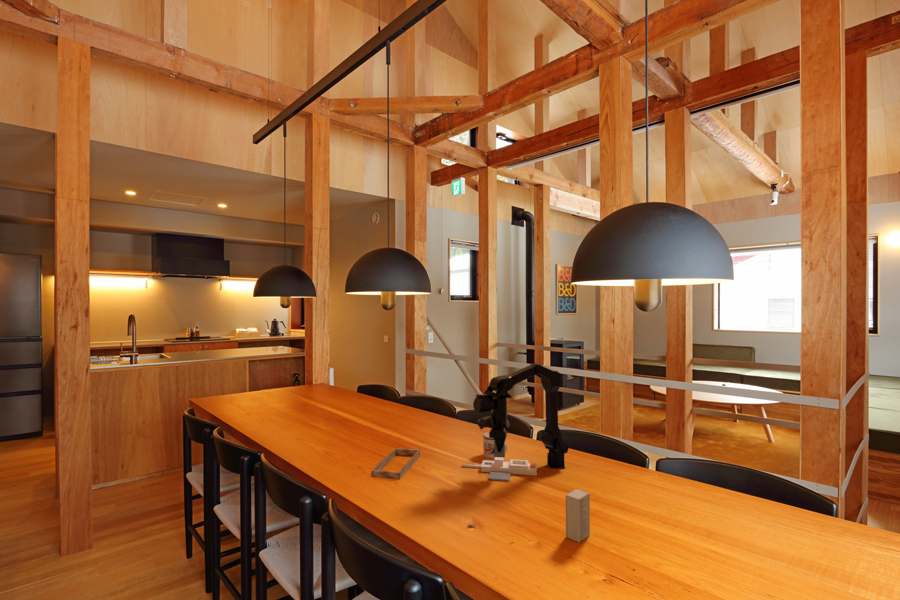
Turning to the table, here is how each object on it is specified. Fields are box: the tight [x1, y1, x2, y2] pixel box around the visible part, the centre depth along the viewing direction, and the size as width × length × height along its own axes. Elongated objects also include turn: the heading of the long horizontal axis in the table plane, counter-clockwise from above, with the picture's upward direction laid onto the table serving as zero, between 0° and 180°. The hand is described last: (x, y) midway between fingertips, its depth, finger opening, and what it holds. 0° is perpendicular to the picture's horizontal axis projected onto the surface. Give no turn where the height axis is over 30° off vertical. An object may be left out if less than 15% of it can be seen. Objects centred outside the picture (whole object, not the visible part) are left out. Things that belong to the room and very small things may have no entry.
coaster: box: [487, 471, 512, 482], centre depth 171 cm, size 8×8×1 cm
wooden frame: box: [370, 447, 421, 480], centre depth 183 cm, size 12×29×2 cm, turn 168°
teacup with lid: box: [482, 430, 508, 459], centre depth 195 cm, size 12×9×12 cm
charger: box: [494, 440, 506, 459], centre depth 171 cm, size 4×4×6 cm
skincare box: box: [565, 488, 591, 543], centre depth 125 cm, size 6×4×12 cm
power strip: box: [461, 457, 538, 476], centre depth 179 cm, size 30×8×4 cm, turn 78°
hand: (499, 450), depth 171 cm, fingers closed on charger, 4 cm apart
